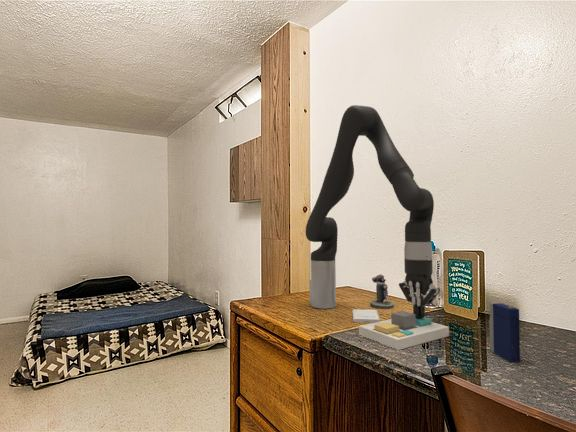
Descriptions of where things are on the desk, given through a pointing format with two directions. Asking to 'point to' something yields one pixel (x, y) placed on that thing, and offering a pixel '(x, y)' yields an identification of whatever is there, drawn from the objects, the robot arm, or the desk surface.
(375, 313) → the external hard drive
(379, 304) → the figurine
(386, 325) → the key ochre
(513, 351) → the navy blue upright slab
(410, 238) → the robot arm
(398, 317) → the key charcoal
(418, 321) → the key teal
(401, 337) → the keypad frame
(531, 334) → the desk surface
